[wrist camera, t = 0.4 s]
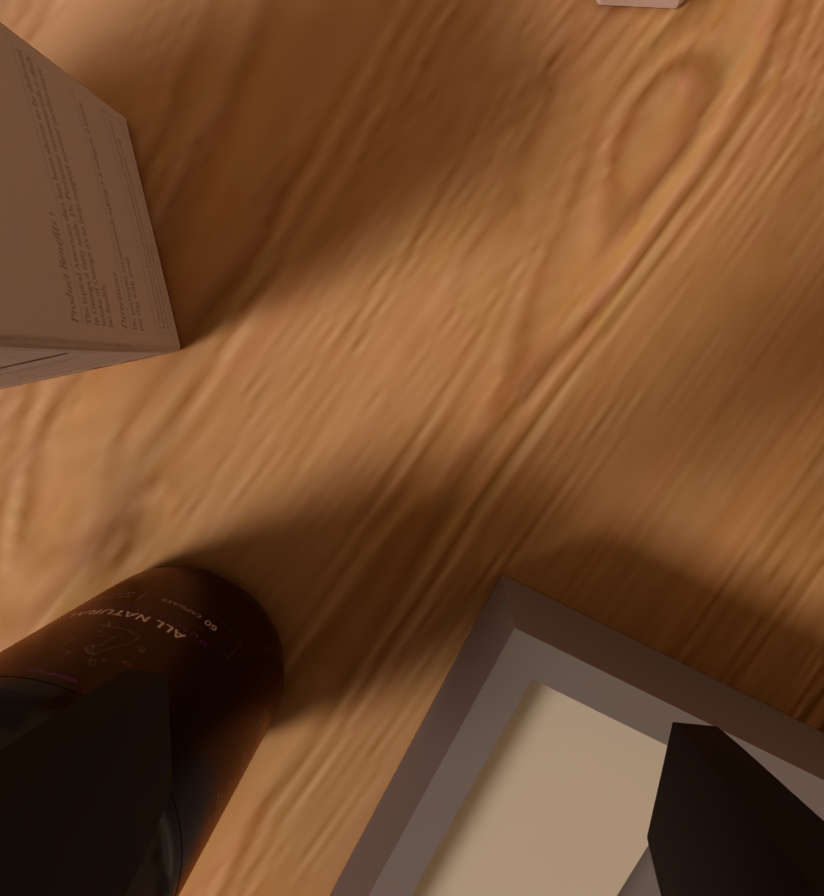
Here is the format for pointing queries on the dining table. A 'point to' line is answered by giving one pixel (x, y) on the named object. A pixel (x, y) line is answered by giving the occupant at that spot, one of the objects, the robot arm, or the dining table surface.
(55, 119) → the supplement box
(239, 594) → the supplement bottle
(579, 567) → the dining table surface
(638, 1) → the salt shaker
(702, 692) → the open box
